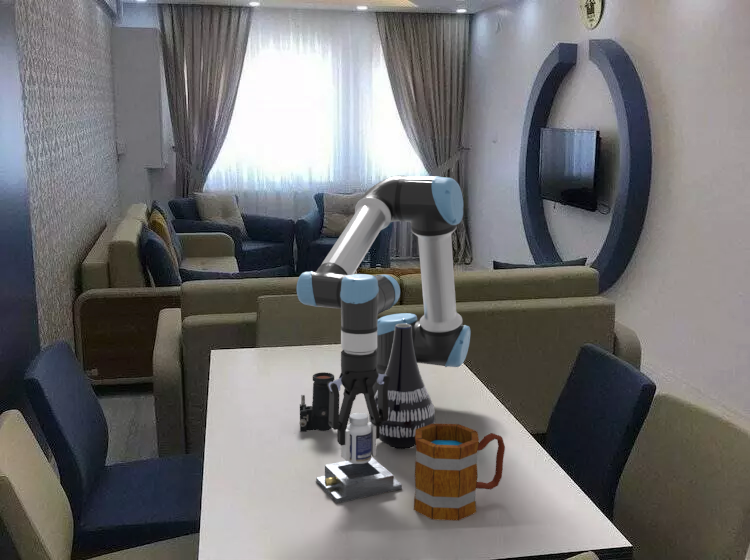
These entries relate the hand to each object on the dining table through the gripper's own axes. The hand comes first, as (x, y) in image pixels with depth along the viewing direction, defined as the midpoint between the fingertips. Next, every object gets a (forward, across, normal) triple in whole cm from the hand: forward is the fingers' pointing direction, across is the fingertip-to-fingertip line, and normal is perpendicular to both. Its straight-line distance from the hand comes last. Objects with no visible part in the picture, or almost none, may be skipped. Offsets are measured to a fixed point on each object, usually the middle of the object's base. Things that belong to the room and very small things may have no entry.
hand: (358, 455), depth 168 cm
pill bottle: (+1, 0, 0) cm, 1 cm away
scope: (+7, -5, -34) cm, 35 cm away
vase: (+7, -19, -16) cm, 26 cm away
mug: (+7, -15, +16) cm, 23 cm away
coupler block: (+7, 0, 0) cm, 7 cm away
